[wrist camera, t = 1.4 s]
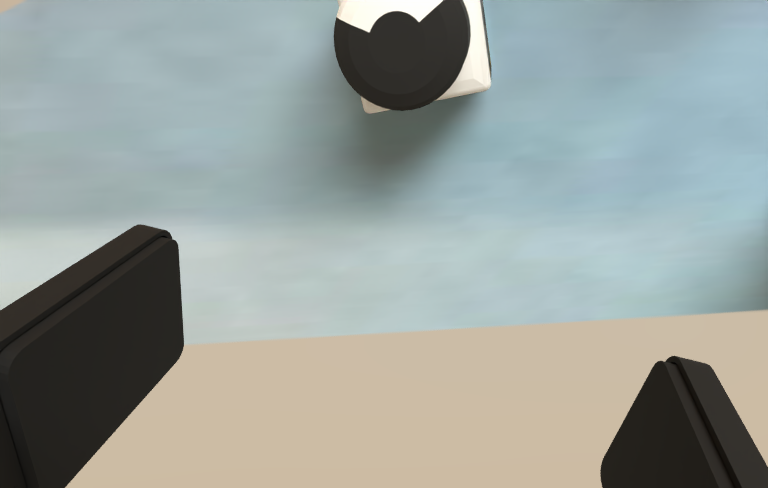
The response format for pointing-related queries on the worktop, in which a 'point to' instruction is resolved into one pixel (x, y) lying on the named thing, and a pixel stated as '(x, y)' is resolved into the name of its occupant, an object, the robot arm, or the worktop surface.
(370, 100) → the medicine bottle
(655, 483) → the robot arm
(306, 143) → the worktop surface
